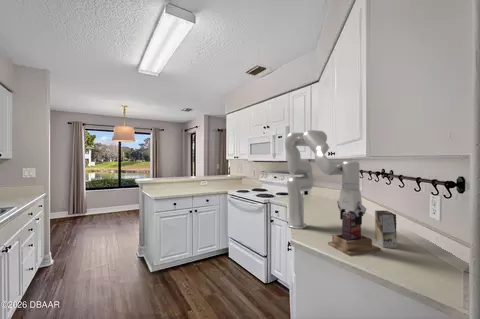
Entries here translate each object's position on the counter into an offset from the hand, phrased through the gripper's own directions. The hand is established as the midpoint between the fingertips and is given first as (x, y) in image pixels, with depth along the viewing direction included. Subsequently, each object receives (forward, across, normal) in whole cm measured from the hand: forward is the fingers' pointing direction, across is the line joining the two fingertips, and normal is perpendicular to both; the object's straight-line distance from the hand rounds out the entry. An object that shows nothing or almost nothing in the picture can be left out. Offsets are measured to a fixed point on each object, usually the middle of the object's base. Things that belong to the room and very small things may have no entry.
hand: (350, 221), depth 109 cm
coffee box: (+12, +3, +19) cm, 23 cm away
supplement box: (+11, +1, 0) cm, 11 cm away
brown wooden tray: (+12, +1, +1) cm, 12 cm away
